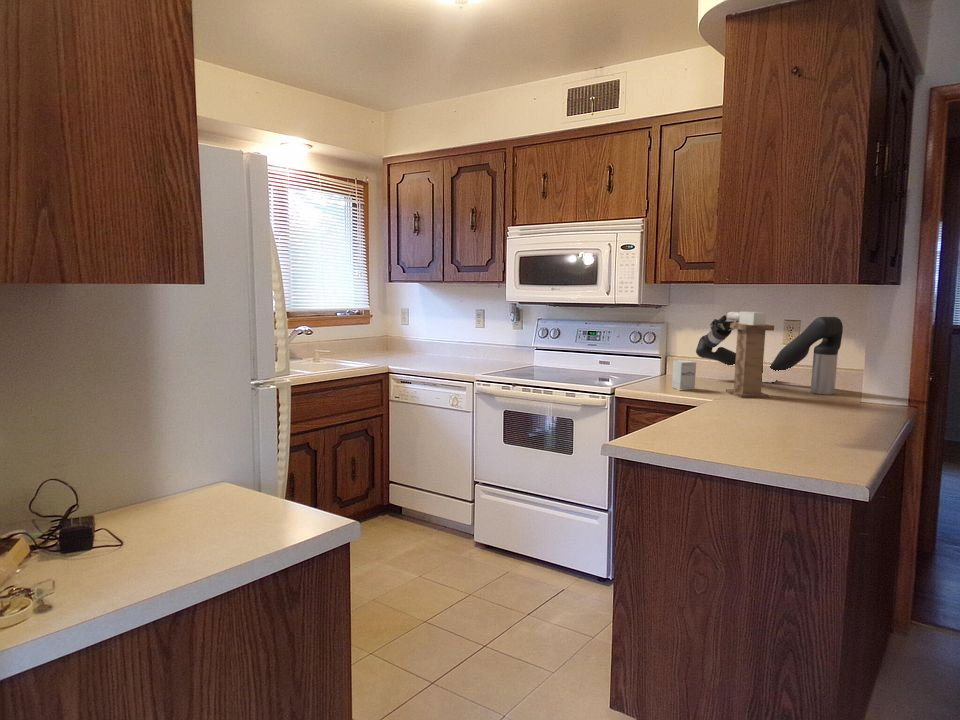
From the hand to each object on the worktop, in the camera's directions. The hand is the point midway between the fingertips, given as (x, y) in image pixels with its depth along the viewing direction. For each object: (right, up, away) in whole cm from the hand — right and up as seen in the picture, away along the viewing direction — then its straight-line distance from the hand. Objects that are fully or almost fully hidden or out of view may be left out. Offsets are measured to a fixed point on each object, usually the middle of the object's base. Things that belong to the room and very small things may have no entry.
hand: (734, 317), depth 285 cm
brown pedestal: (+1, -34, -10) cm, 35 cm away
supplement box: (-22, -32, +2) cm, 39 cm away
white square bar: (+1, -3, -7) cm, 8 cm away
